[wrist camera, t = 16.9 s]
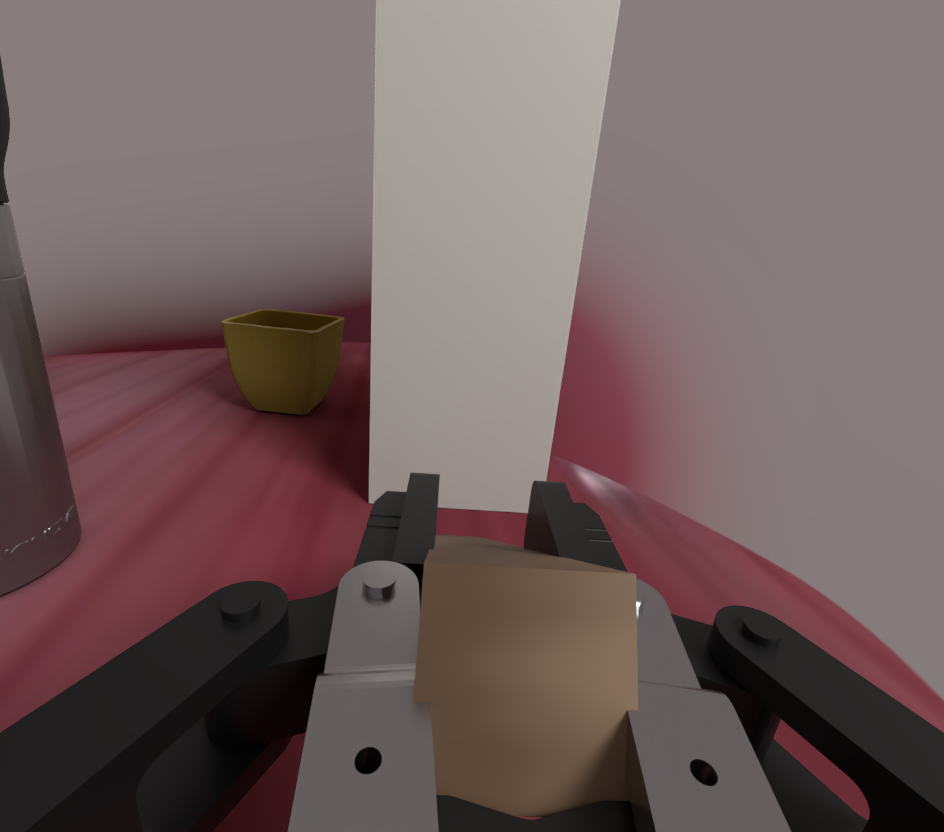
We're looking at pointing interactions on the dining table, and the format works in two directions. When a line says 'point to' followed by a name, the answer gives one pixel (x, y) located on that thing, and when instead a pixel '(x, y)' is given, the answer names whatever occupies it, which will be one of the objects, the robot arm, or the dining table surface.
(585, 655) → the walnut bar
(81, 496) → the dining table surface
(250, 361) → the flower pot
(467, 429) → the off-white column
